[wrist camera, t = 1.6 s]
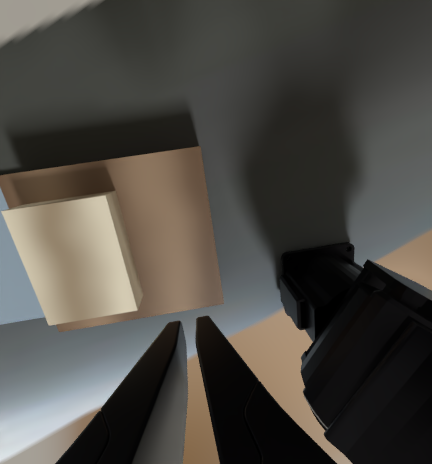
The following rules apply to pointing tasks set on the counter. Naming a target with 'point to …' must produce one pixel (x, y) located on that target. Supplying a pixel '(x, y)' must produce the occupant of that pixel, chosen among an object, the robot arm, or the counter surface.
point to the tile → (77, 256)
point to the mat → (14, 280)
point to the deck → (144, 223)
